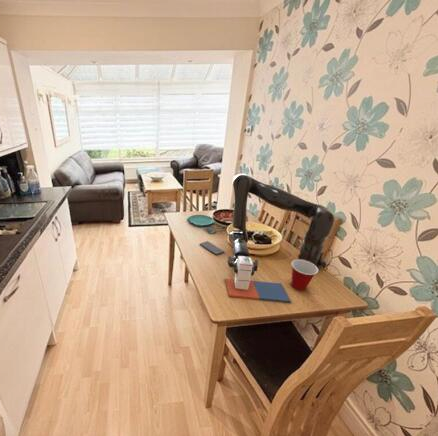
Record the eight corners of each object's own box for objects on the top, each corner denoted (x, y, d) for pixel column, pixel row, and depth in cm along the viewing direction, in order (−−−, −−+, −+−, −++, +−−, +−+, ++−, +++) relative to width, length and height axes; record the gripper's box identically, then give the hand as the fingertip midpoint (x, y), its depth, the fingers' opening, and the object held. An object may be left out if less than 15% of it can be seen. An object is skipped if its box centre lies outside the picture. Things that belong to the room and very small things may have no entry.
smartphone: (207, 241, 154) (224, 251, 142) (207, 242, 154) (224, 252, 142) (199, 243, 151) (216, 254, 139) (199, 244, 151) (216, 255, 139)
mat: (280, 285, 116) (281, 283, 115) (290, 302, 105) (290, 301, 104) (225, 280, 119) (225, 278, 119) (229, 296, 108) (229, 295, 108)
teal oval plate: (204, 215, 195) (204, 212, 194) (228, 230, 169) (228, 227, 168) (183, 219, 188) (183, 216, 187) (204, 235, 163) (205, 232, 162)
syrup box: (248, 290, 109) (254, 263, 103) (234, 288, 110) (239, 262, 104) (246, 282, 114) (251, 256, 108) (233, 280, 115) (237, 255, 109)
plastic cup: (286, 290, 112) (292, 269, 107) (284, 277, 121) (290, 257, 116) (313, 297, 108) (320, 275, 103) (309, 283, 117) (316, 262, 112)
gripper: (227, 245, 121) (228, 263, 106) (257, 248, 118) (263, 268, 103) (225, 257, 124) (226, 277, 110) (254, 261, 121) (260, 282, 106)
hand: (244, 272), depth 106 cm, fingers closed on syrup box, 6 cm apart
